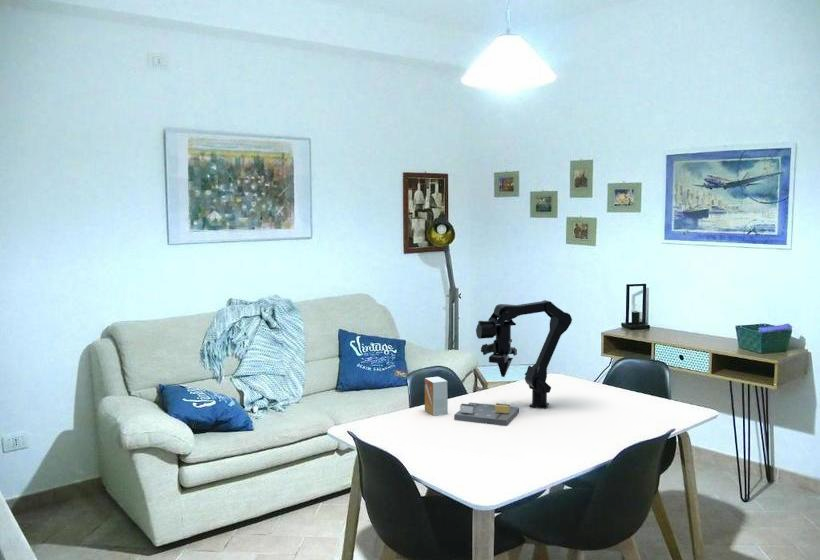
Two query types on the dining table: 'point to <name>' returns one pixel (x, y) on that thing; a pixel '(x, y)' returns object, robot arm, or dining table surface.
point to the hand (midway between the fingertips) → (503, 376)
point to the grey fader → (467, 408)
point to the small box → (436, 396)
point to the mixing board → (487, 415)
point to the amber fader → (502, 408)
